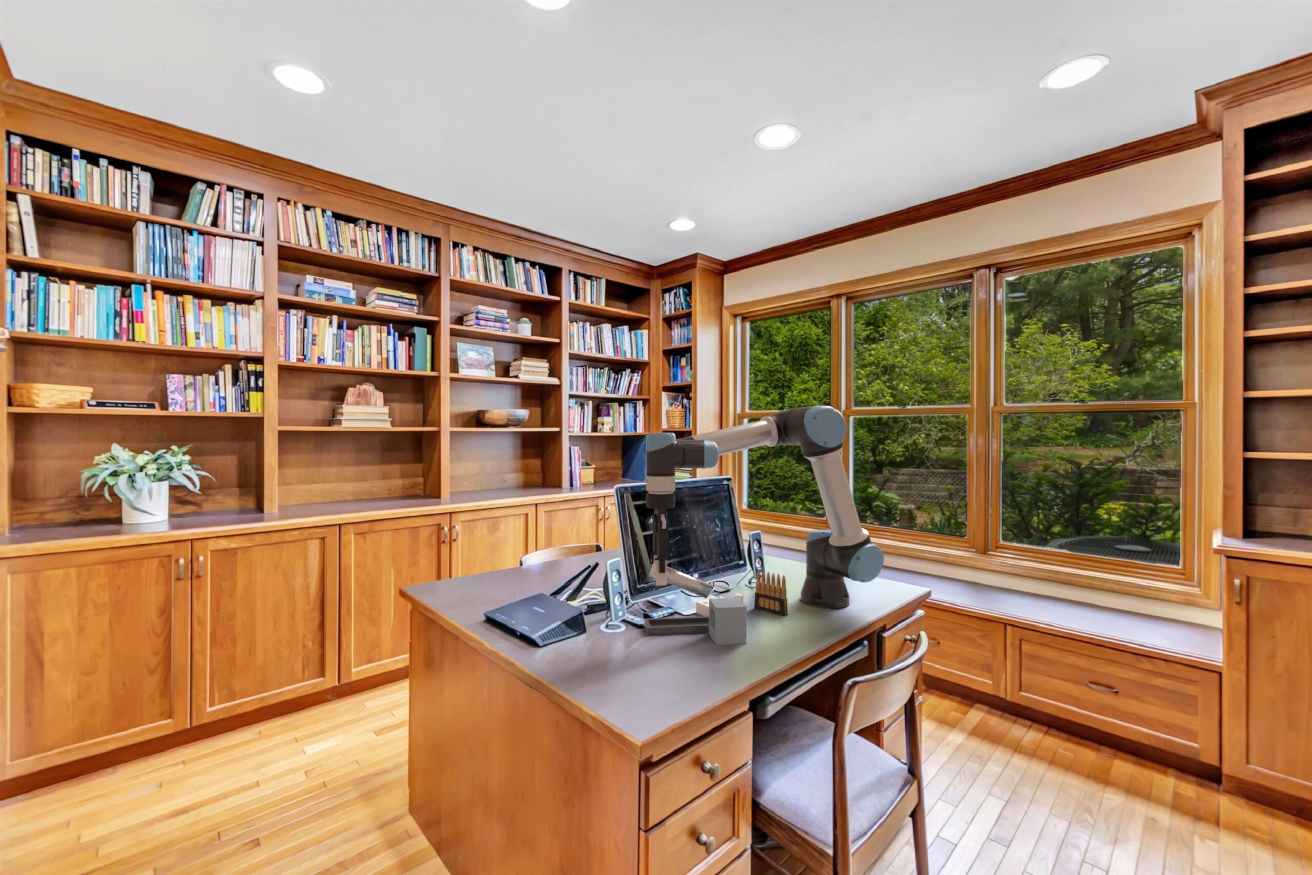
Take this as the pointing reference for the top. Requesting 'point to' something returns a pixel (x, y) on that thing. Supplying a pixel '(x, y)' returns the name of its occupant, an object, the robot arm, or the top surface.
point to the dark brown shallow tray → (676, 625)
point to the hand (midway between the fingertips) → (660, 582)
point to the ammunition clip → (771, 595)
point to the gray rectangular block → (727, 621)
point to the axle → (685, 581)
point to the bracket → (703, 605)
